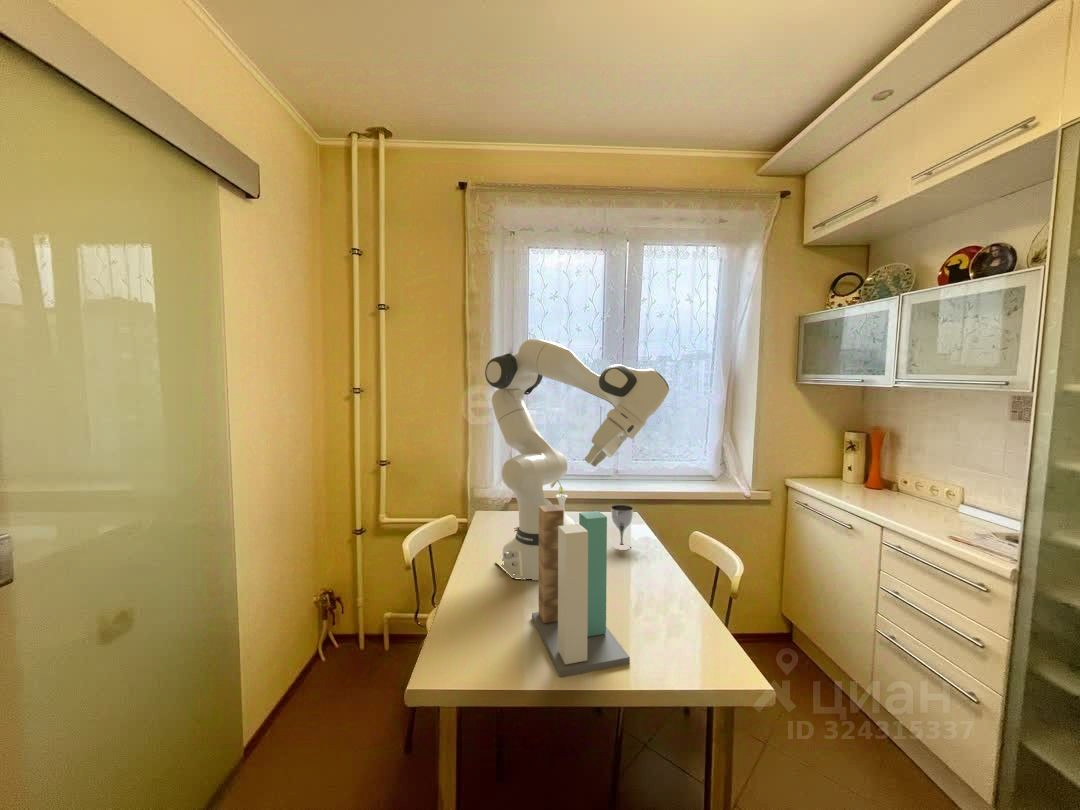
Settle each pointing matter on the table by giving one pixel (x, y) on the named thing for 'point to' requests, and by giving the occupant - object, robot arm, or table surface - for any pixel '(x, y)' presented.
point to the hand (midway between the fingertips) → (589, 463)
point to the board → (599, 650)
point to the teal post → (596, 570)
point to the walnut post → (549, 561)
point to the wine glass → (622, 517)
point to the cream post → (572, 593)
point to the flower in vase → (561, 501)
